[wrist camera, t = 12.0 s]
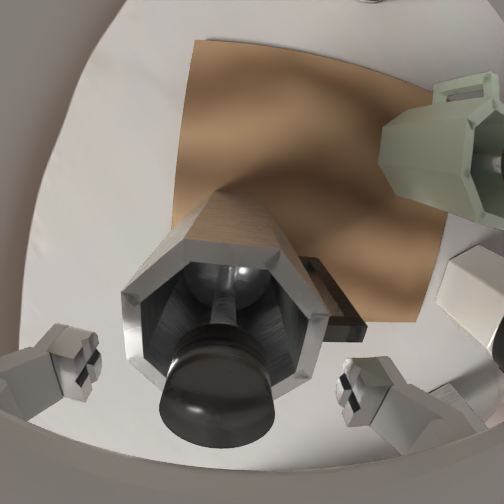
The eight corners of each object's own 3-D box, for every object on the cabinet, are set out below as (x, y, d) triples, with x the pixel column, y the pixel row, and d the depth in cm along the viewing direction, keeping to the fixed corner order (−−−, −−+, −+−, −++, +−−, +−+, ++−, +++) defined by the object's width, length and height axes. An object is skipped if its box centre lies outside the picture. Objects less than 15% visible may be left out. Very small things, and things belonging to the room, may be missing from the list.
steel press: (298, 292, 24) (347, 411, 12) (180, 279, 23) (132, 397, 11) (315, 203, 22) (402, 263, 10) (186, 187, 21) (119, 231, 9)
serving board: (410, 316, 27) (415, 322, 26) (171, 298, 25) (168, 305, 24) (453, 107, 21) (460, 106, 20) (197, 45, 19) (195, 39, 18)
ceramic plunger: (456, 195, 19) (557, 229, 9) (409, 182, 19) (517, 211, 9) (464, 136, 17) (567, 143, 8) (418, 116, 17) (526, 107, 7)
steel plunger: (263, 307, 18) (288, 464, 8) (184, 299, 18) (137, 451, 7) (275, 231, 17) (331, 352, 6) (189, 221, 17) (115, 331, 6)
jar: (435, 330, 28) (496, 397, 17) (430, 267, 26) (512, 327, 14) (490, 297, 27) (554, 347, 16) (490, 235, 25) (570, 275, 13)
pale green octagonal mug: (441, 206, 22) (523, 236, 13) (373, 189, 22) (452, 216, 12) (454, 103, 20) (536, 96, 10) (386, 76, 19) (465, 44, 10)
